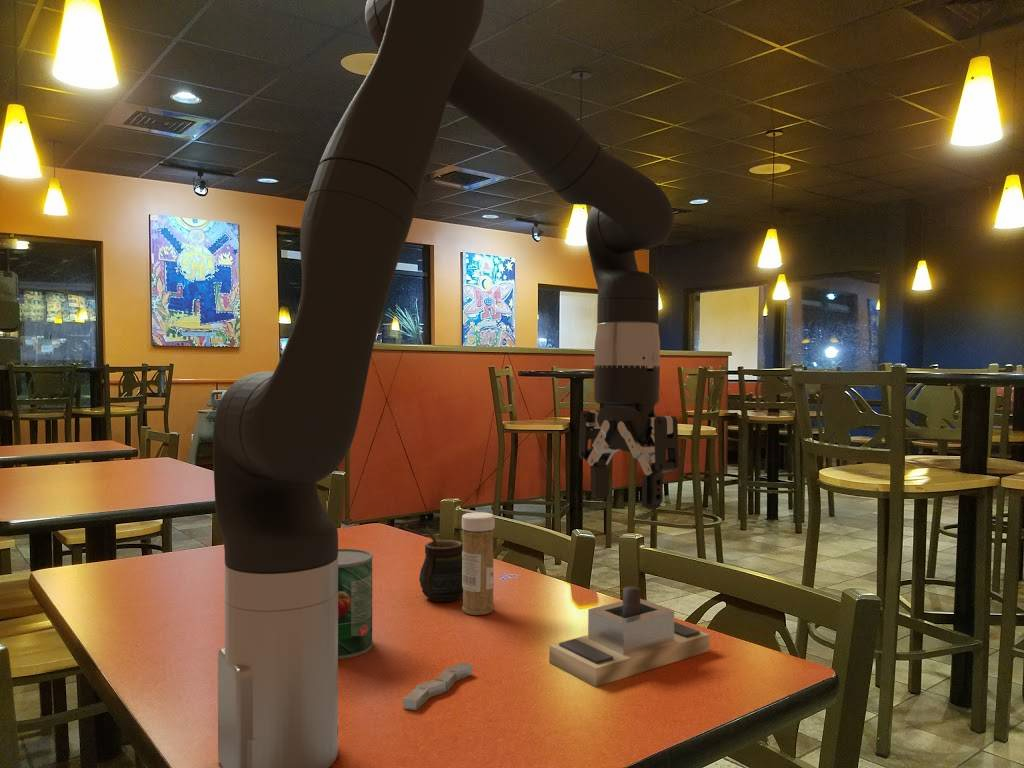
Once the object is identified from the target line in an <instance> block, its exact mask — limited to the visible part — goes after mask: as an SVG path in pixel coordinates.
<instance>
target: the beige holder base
mask: <svg viewBox="0 0 1024 768" xmlns="http://www.w3.org/2000/svg"><path fill="white" fill-rule="evenodd" d="M640 599H641V588H640V587H638V586H632V585H629V586H627V585H626V586H624V587H623V588H622V601H623V618H628V617H632V616H636V615H640ZM548 646H549V647H548V649H549V653H548V654H549V657H548V659H549V661H548V662H549V664H552V665H554V667H557V668H559V669H561V670H563V672H564V671H565V672H567V673H568V674H569V675H572V676H574V677H576V678H578V679H580V680H582V681H584V682H585V683H587V684H589V685H591V686H593V687H595V688H596V687H600V686H604V685H607V684H610V683H613V682H616V681H620V680H622V679H626V678H628V677H632V676H635V675H639V674H641V673H644V672H648V671H650V670H654V669H657V668H659V667H664V666H666V665H670V664H673V663H675V662H678V661H682V660H686V659H688V658H692V657H695V656H698V655H701V654H704V653H707V652H710V634H709V633H707V632H704V631H701V630H699V629H697V628H694V627H691V626H687V625H685V624H682V623H680V622H677V621H675V620H674V641H671V642H667V643H664V644H660V645H657V646H653V647H650V648H647V649H643V650H640V651H636V652H633V653H629V654H626V655H622V654H620V653H618V652H616V651H613V650H611V649H609V648H607V647H605V646H603V645H600V644H598V643H596V642H594V641H592V640H589V639H588V634H587V635H583V636H579V637H576V638H573V639H568V640H567V639H566V640H564V641H560V642H556V643H553V644H549V645H548Z"/></svg>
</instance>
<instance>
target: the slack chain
mask: <svg viewBox="0 0 1024 768" xmlns="http://www.w3.org/2000/svg"><path fill="white" fill-rule="evenodd" d="M472 675H473V665H472V664H470V663H467V662H464V661H463V662H460V663H457V664H455V665H453V666H452V665H451V666H449V667H446V668H444V670H443V671H442V672H441V673H440V674H439V675H438V676H437V677H436V678H435V679H432V680H429V681H425V682H423V683H420V684H415V688H413V690H411V691H410V692H409V693H408V694H407V695H405V696H404V697H403V699H402V700H403V707H402V708H403V709H405V710H410V711H411V710H412V711H417V710H419V709H420V707H422V706H423V705H424V704H425V703H426V702H427V701H429V699H430V698H432V697H435V696H439V695H442V694H445V693H447V692H449V690H450V689H451V688H452V687H453V686H454V684H455V683H456V681H459V680H462V679H465V678H467V677H470V676H472Z"/></svg>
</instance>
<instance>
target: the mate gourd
mask: <svg viewBox="0 0 1024 768" xmlns="http://www.w3.org/2000/svg"><path fill="white" fill-rule="evenodd" d="M424 527H425V526H424ZM425 529H426V530H427V532H428V535H429V536H430V538H431V540H432V541H429V542H427V543H425V544H424V553H425V556H424V557H425V558H424V561H423V563H422V566H421V569H420V571H419V572H420V573H419V578H418V579H419V583H420V588H421V593H423V595H424V596H425V597H426V598H427V599H428V600H430V601H432V602H434V603H450V602H454V601H457V600H459V599H460V598H461V597H463V587H462V550H463V542H461V541H458V540H452V539H446V540H445V539H443V540H438V539H437V538H436V537H435V535H434V534H433V532H432V531H431V529H430V527H429V526H426V527H425Z"/></svg>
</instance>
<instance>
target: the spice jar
mask: <svg viewBox="0 0 1024 768" xmlns="http://www.w3.org/2000/svg"><path fill="white" fill-rule="evenodd" d="M495 519H496V518H495V515H494V514H493V513H490V512H478V511H476V512H467V513H463V515H462V516H461V529H462V530H461V531H462V544H463V550H462V587H463V595H462V605H461V610H462V612H463V613H465V614H467V615H472V616H485V615H488V614H489V615H490V614H491V613H492V612H494V610H495V605H494V585H495V584H494V581H495V580H494V577H495V576H494V570H495V569H494V530H495V526H496V525H495V524H496V523H495V522H496V521H495Z"/></svg>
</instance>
